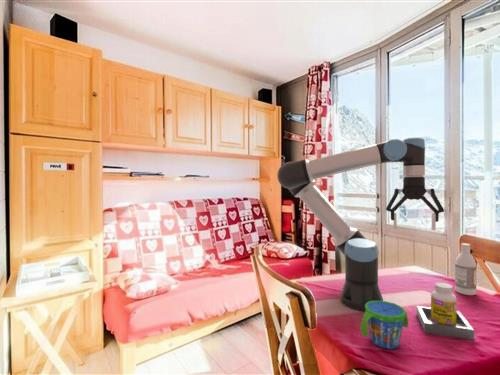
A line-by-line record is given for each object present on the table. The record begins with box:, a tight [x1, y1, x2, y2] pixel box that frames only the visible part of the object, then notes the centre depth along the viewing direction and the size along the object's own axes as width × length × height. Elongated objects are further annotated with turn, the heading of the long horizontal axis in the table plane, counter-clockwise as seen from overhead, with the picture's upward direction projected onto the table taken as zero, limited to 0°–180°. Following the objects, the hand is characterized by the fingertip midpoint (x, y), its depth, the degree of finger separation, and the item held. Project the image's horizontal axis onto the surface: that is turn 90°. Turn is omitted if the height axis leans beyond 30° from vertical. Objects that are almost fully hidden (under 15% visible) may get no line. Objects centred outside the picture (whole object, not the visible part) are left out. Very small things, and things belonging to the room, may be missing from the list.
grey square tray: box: [416, 305, 475, 341], centre depth 89 cm, size 12×12×3 cm
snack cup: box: [359, 300, 409, 350], centre depth 81 cm, size 16×10×10 cm
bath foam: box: [454, 242, 477, 296], centre depth 115 cm, size 7×7×20 cm
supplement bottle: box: [430, 282, 457, 326], centre depth 89 cm, size 7×7×13 cm
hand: (413, 229), depth 113 cm, fingers open, 13 cm apart
